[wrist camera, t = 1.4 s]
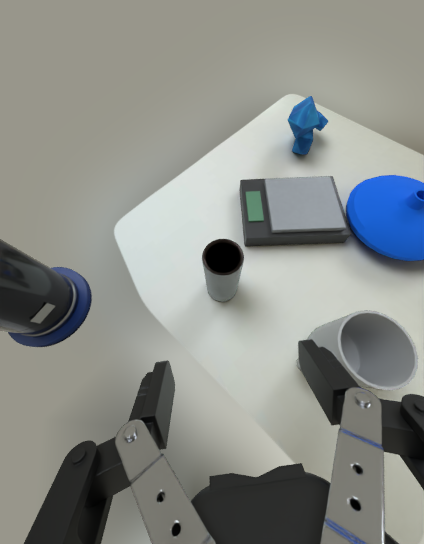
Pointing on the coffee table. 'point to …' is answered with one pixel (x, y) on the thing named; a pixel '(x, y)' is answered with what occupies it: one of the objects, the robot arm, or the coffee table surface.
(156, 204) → the coffee table surface
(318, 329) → the cup
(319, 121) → the crystal
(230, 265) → the grey cylindrical tube
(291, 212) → the scale
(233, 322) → the coffee table surface
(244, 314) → the coffee table surface
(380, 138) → the coffee table surface
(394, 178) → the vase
